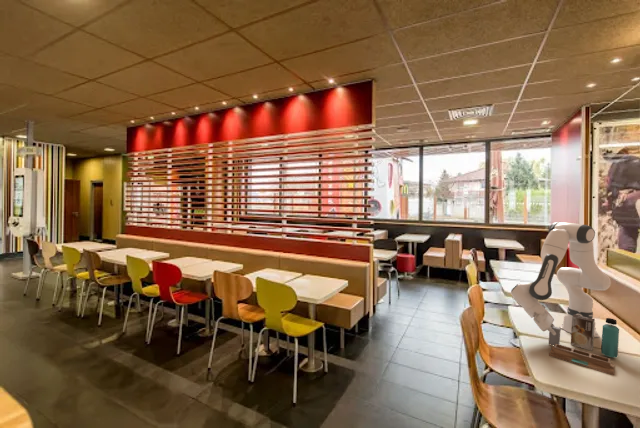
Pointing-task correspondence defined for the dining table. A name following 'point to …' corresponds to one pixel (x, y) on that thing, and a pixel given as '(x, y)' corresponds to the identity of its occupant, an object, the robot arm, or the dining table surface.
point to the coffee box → (582, 332)
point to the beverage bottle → (610, 338)
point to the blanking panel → (554, 336)
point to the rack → (582, 358)
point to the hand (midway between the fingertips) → (556, 333)
